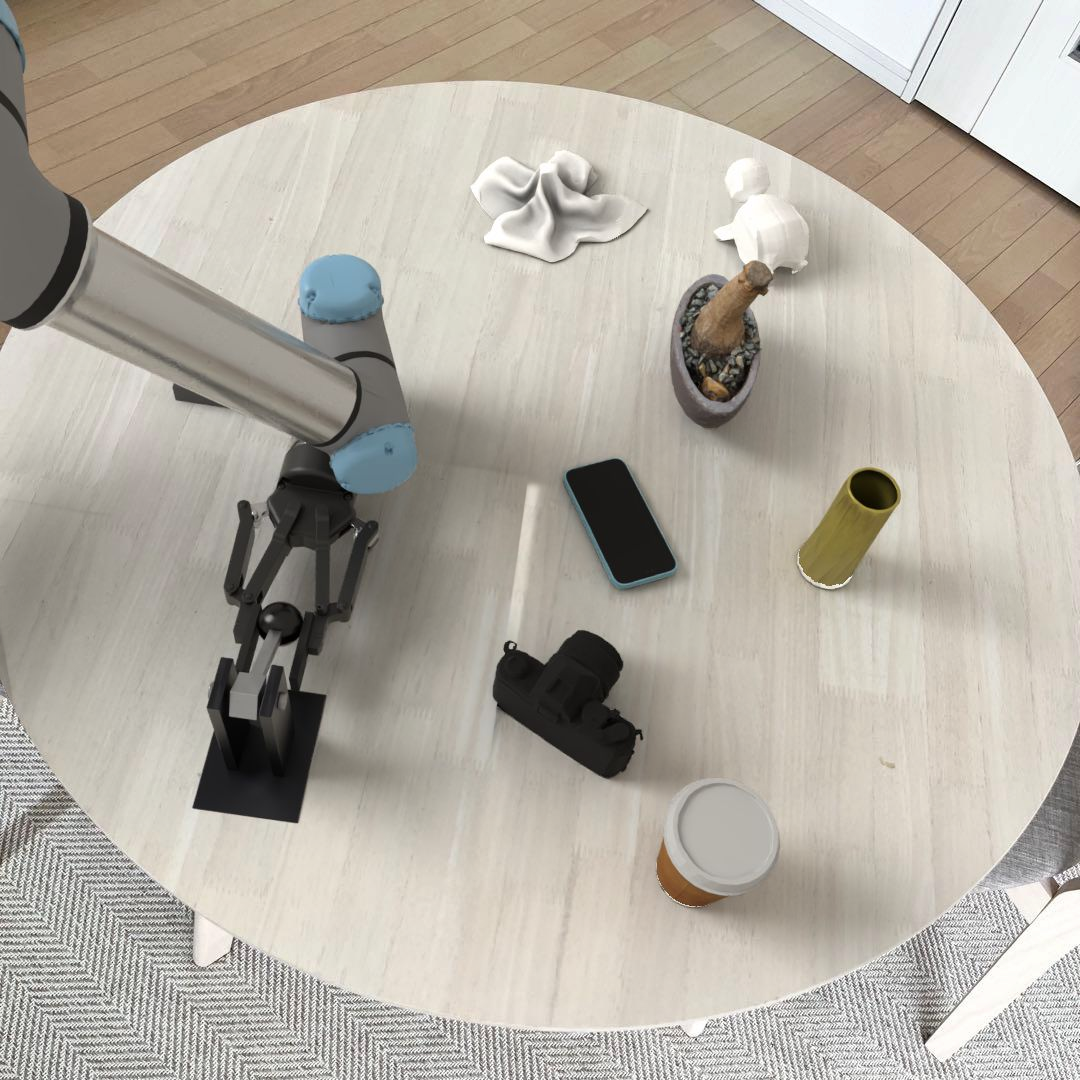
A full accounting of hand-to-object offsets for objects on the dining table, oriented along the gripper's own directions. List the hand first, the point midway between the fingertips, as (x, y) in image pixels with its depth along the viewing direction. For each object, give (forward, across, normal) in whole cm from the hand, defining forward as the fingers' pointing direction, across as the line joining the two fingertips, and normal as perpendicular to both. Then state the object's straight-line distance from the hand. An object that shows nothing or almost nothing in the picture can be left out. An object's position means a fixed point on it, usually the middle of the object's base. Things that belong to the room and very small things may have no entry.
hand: (267, 680), depth 97 cm
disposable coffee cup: (+9, -39, -7) cm, 41 cm away
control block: (-38, +14, -7) cm, 41 cm away
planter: (-46, -38, -7) cm, 60 cm away
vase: (-25, -52, -7) cm, 58 cm away
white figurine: (-71, -44, -7) cm, 84 cm away
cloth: (-72, -19, -7) cm, 74 cm away
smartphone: (-26, -30, -7) cm, 40 cm away
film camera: (-5, -27, -7) cm, 28 cm away
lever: (0, 0, +2) cm, 2 cm away
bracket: (+4, 0, -7) cm, 8 cm away
